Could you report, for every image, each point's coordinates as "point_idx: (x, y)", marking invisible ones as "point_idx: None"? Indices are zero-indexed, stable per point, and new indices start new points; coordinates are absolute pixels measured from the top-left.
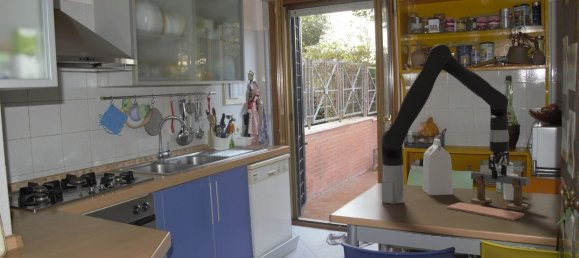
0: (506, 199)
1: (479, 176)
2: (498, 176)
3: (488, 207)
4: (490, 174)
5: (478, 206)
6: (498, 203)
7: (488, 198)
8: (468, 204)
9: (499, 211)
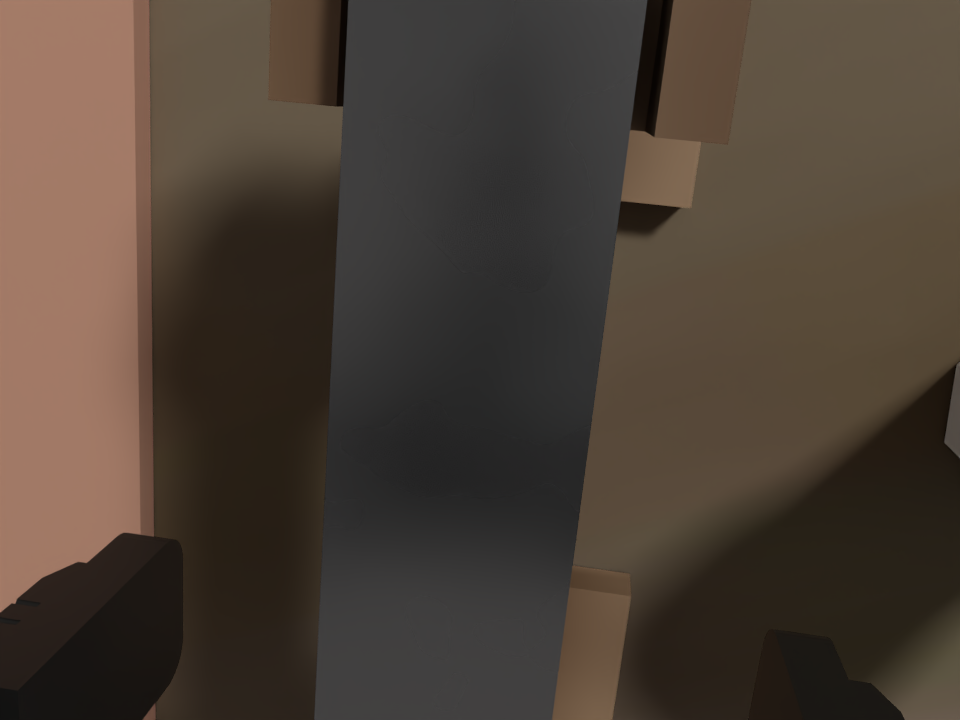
0: (958, 377)
1: (278, 42)
2: (324, 682)
3: (128, 359)
4: (368, 429)
5: (82, 210)
6: (606, 348)
7: (682, 153)
8: (95, 12)
9: (26, 552)
